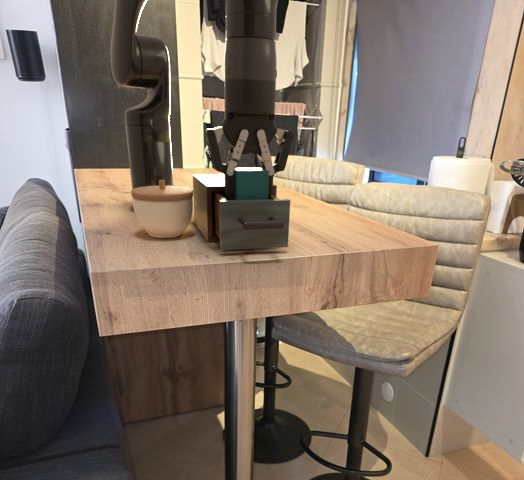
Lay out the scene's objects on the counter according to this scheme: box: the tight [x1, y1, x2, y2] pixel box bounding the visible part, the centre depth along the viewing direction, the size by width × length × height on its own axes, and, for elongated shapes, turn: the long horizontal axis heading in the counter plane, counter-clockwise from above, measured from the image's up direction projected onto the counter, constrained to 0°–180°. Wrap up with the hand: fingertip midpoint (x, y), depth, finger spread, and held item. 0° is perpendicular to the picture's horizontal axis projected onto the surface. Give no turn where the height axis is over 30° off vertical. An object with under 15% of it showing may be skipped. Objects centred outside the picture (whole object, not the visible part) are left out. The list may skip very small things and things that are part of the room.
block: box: [234, 166, 269, 200], centre depth 73 cm, size 5×5×5 cm
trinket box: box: [130, 180, 194, 239], centre depth 81 cm, size 11×11×9 cm
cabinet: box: [192, 173, 278, 243], centre depth 86 cm, size 16×12×9 cm
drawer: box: [212, 192, 291, 251], centre depth 75 cm, size 20×11×7 cm, turn 16°
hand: (248, 199), depth 74 cm, fingers closed on block, 5 cm apart
